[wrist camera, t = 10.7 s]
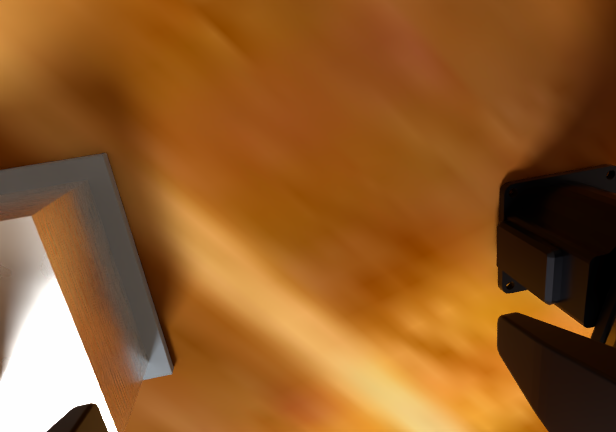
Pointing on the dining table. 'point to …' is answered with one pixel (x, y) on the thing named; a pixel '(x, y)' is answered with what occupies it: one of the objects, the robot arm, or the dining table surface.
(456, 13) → the dining table surface
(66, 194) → the cover
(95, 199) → the mat
